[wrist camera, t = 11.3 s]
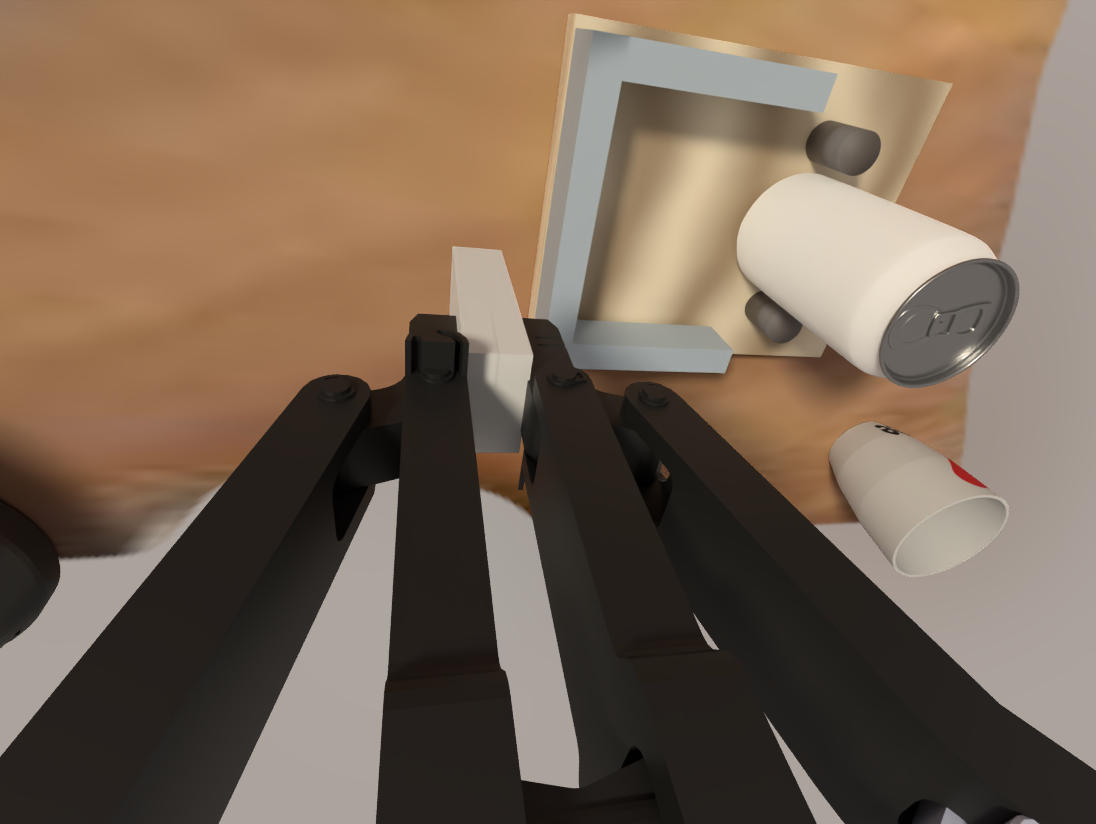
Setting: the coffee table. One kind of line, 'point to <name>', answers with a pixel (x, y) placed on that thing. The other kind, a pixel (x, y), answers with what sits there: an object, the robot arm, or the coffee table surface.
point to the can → (877, 279)
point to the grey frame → (582, 172)
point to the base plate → (725, 186)
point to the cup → (914, 499)
